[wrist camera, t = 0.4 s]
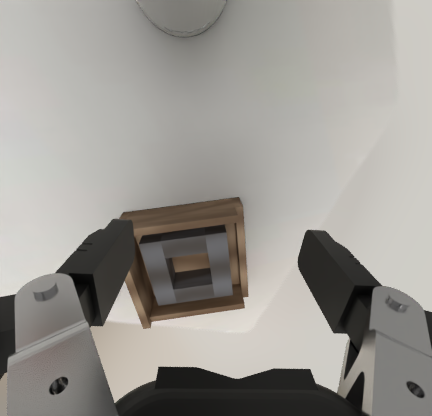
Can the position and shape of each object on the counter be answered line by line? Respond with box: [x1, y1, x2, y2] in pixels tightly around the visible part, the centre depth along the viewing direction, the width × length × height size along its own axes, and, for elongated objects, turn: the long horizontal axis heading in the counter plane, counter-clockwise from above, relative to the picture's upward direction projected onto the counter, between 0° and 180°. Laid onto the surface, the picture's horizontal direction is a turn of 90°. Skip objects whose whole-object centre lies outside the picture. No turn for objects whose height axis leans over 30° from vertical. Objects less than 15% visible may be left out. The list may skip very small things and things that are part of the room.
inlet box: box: [119, 197, 248, 329], centre depth 32 cm, size 16×16×6 cm
